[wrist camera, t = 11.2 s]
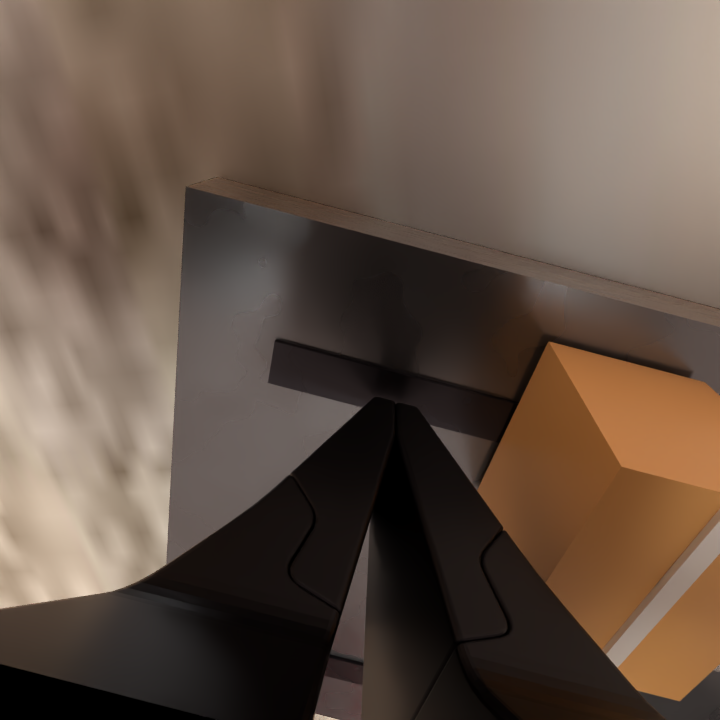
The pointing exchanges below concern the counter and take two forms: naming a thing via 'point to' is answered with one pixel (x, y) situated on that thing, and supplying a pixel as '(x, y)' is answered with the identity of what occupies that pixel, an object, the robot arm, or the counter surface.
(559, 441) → the fader knob orange
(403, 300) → the board
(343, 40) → the counter surface
